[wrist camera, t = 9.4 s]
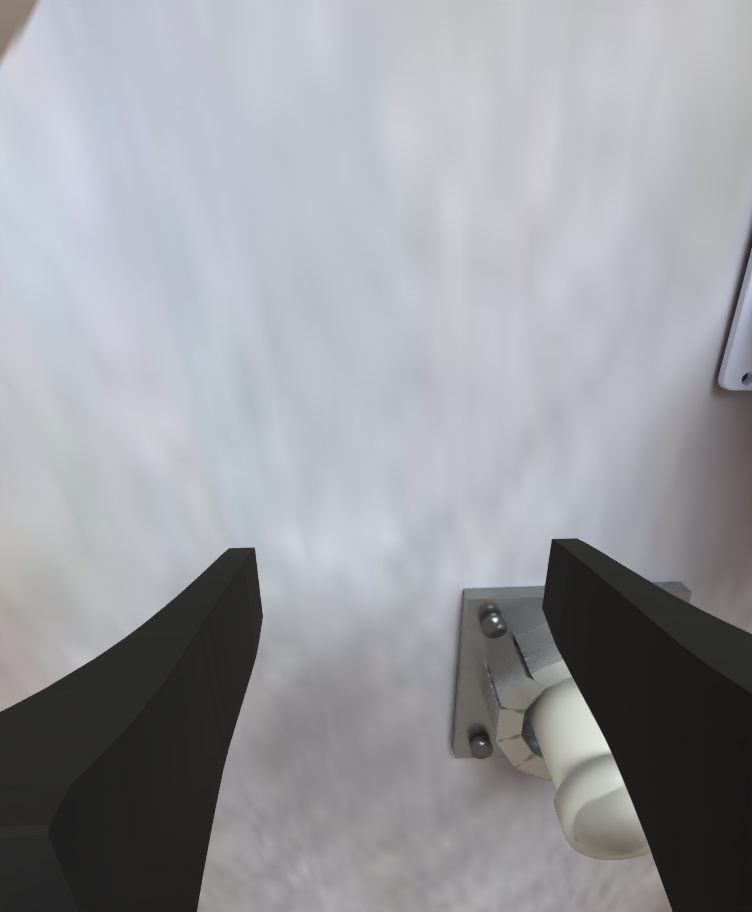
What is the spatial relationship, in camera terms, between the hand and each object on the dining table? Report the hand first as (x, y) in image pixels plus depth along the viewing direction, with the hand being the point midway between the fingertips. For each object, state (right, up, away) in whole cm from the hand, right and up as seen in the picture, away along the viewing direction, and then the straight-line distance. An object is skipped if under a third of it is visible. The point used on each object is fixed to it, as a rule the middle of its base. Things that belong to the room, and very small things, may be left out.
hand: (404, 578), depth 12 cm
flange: (+9, -9, +15) cm, 19 cm away
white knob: (+9, -9, +14) cm, 19 cm away
